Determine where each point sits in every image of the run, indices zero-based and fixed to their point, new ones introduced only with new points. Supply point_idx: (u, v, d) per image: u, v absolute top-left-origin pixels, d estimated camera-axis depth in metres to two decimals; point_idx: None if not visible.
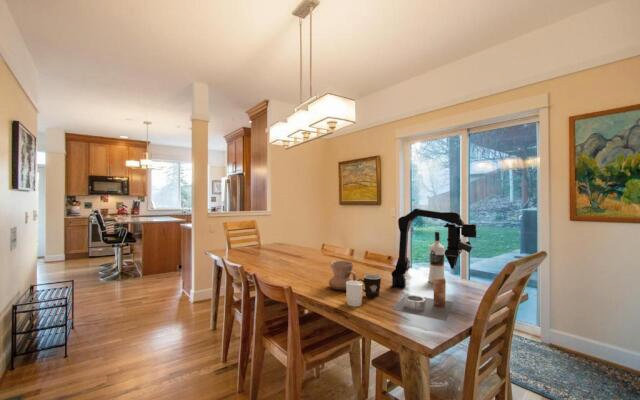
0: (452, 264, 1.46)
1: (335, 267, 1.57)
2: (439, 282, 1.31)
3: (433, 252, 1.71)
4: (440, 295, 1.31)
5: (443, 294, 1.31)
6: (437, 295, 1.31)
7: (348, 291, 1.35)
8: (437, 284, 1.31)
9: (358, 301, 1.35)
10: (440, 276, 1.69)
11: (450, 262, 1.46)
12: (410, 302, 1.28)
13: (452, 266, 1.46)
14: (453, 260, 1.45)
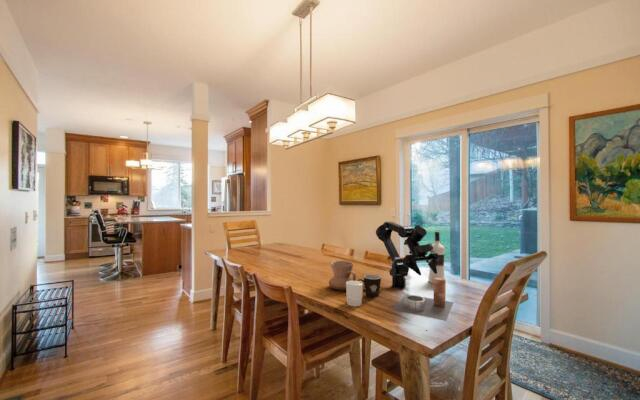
0: (417, 270, 1.41)
1: (335, 267, 1.57)
2: (439, 282, 1.31)
3: (433, 252, 1.71)
4: (440, 295, 1.31)
5: (443, 294, 1.31)
6: (437, 295, 1.31)
7: (348, 291, 1.35)
8: (437, 284, 1.31)
9: (358, 301, 1.35)
10: (440, 276, 1.69)
11: (414, 270, 1.42)
12: (410, 302, 1.28)
13: (418, 272, 1.40)
14: (414, 266, 1.42)
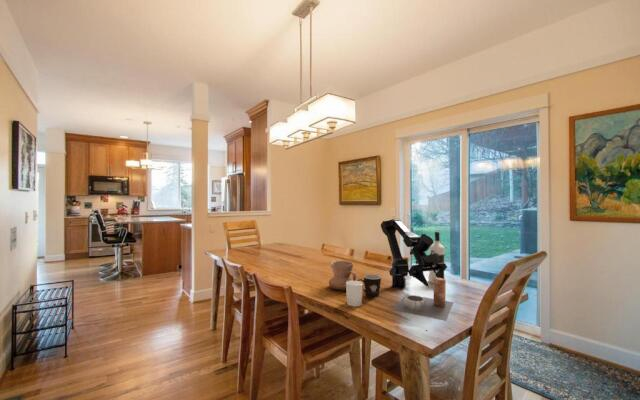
0: (424, 281, 1.35)
1: (335, 267, 1.57)
2: (439, 282, 1.31)
3: (433, 252, 1.71)
4: (440, 295, 1.31)
5: (443, 294, 1.31)
6: (437, 295, 1.31)
7: (348, 291, 1.35)
8: (437, 284, 1.31)
9: (358, 301, 1.35)
10: None
11: (421, 281, 1.36)
12: (410, 302, 1.28)
13: (425, 283, 1.35)
14: (421, 277, 1.36)
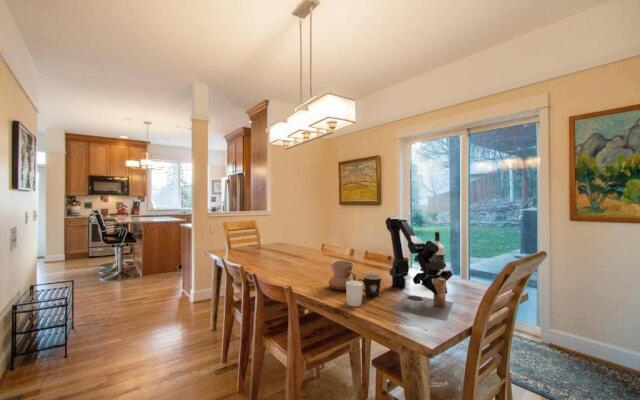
0: (432, 289, 1.32)
1: (335, 267, 1.57)
2: (439, 282, 1.31)
3: None
4: (440, 295, 1.31)
5: (443, 294, 1.31)
6: (437, 295, 1.31)
7: (348, 291, 1.35)
8: (438, 284, 1.31)
9: (358, 301, 1.35)
10: None
11: (430, 289, 1.34)
12: (410, 302, 1.28)
13: (434, 292, 1.32)
14: (430, 285, 1.33)
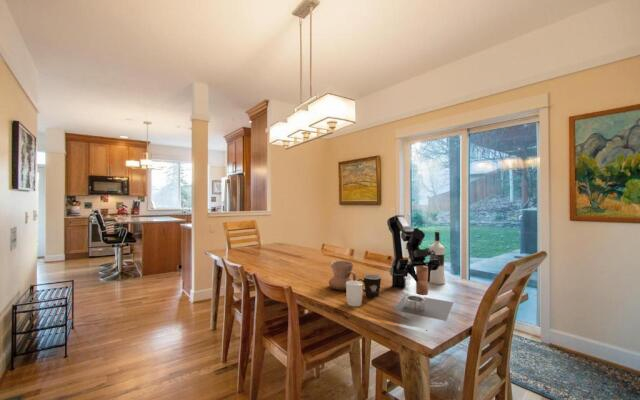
0: (414, 276, 1.31)
1: (335, 267, 1.57)
2: (420, 269, 1.29)
3: (433, 252, 1.71)
4: (421, 282, 1.29)
5: (424, 281, 1.29)
6: (418, 282, 1.30)
7: (348, 291, 1.35)
8: (418, 271, 1.30)
9: (358, 301, 1.35)
10: (440, 276, 1.69)
11: (412, 275, 1.33)
12: (410, 302, 1.28)
13: (415, 278, 1.31)
14: (412, 271, 1.32)
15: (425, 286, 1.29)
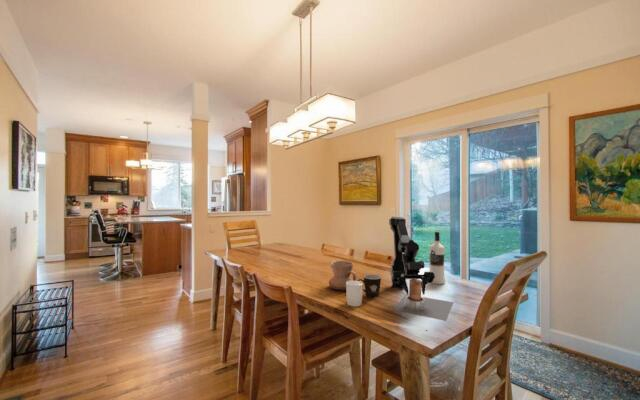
0: (405, 289, 1.32)
1: (335, 267, 1.57)
2: (412, 283, 1.29)
3: (433, 252, 1.71)
4: (413, 296, 1.29)
5: (416, 296, 1.29)
6: (411, 296, 1.30)
7: (348, 291, 1.35)
8: (411, 285, 1.30)
9: (358, 301, 1.35)
10: (440, 276, 1.69)
11: (404, 288, 1.33)
12: (410, 302, 1.28)
13: (406, 291, 1.31)
14: (403, 284, 1.33)
15: (418, 300, 1.29)
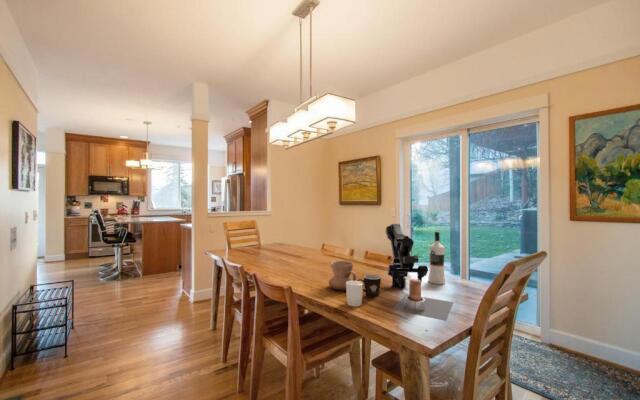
0: (398, 281, 1.41)
1: (335, 267, 1.57)
2: (412, 283, 1.29)
3: (433, 252, 1.71)
4: (413, 296, 1.29)
5: (416, 296, 1.29)
6: (411, 296, 1.30)
7: (348, 291, 1.35)
8: (411, 285, 1.30)
9: (358, 301, 1.35)
10: (440, 276, 1.69)
11: (397, 280, 1.42)
12: (410, 302, 1.28)
13: (399, 283, 1.40)
14: (396, 277, 1.42)
15: (417, 300, 1.29)
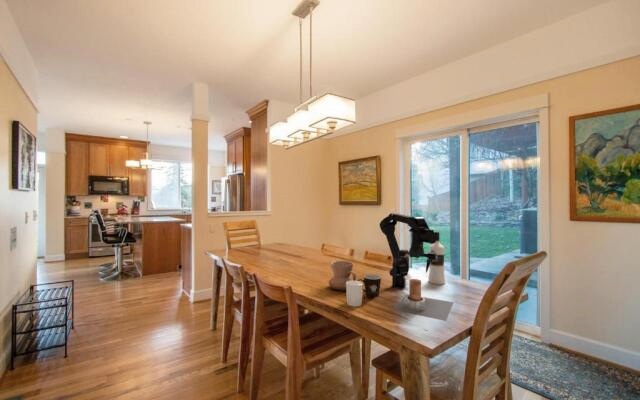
0: None
1: (335, 267, 1.57)
2: (412, 283, 1.29)
3: (433, 252, 1.71)
4: (413, 296, 1.29)
5: (416, 296, 1.29)
6: (411, 296, 1.30)
7: (348, 291, 1.35)
8: (411, 285, 1.30)
9: (358, 301, 1.35)
10: (440, 276, 1.69)
11: None
12: (410, 302, 1.28)
13: None
14: None
15: (417, 300, 1.29)
